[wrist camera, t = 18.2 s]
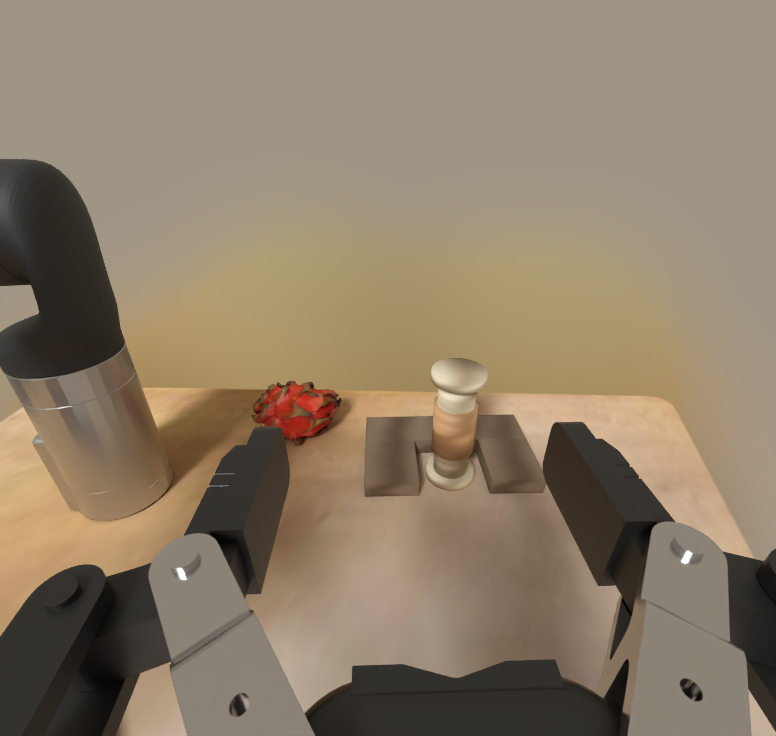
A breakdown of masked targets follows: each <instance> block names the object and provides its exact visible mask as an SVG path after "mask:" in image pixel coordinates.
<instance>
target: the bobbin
mask: <svg viewBox="0 0 776 736" xmlns="http://www.w3.org/2000/svg"><path fill="white" fill-rule="evenodd" d="M431 380H432V382H433V384H434V385H435V386H436V387H438V396H437V397H436V398H435V400H434V411H433V427H432V443H431V447H432V450H433V452H434V454H433V455H431V456H430V457H429V458H428V460H427V463H426V475H427V478H428V479H429V481H430V482H431V483H432V484H434V485H435V486H437V487H439V488H441V489H444V490H449V491H456V490H461V489H464V488H466V487H467V486H469V485H470V484H471V482H472V480H473V476H474V465H473V463H472V462H471V460H470V459H469V456H470V455H471V454H472V452H473V445H474V438H475V430H476V422H477V415H478V407H479V405H478V402H477V400H476V396H477V392H478V391H480V390H482V389H483V388H484V387H485V385H486V381H487V370H486V369H485V367H483V366H482V365H481V364H479V363H477V362H475V361H472V360H468V359H463V358H449V359H444V360H440V361H438V362H436V363H435V364H434V365H433V367H432V373H431Z"/></svg>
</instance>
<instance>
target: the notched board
mask: <svg viewBox="0 0 776 736" xmlns="http://www.w3.org/2000/svg"><path fill="white" fill-rule="evenodd" d="M432 427H433V416H416V417H367V423H366V451H365V478H364V488H365V497H369V496H411V495H419V476H418V468H417V460H416V453H430V452H433V450H432V447H431V443H432ZM473 452H477V455H478V458H479V461H480V464H481V467H482V471H483V474H484V477H485V480H486V483H487V486H488V489H489V492H490V494H496V493H539V492H543V491H544V488H545V484H546V481H545V478H544V474H543V471H542V469H541V467H540V465H539V463H538V461H537V459H536V458H535V456H534V454H533V452H532V450H531V448H530V446H529V444H528V442H527V440H526V438H525V436H524V434H523V432H522V430H521V428H520V426H519V424H518V422H517V421H516V419H515V417H514V415H477V422H476V430H475V438H474V445H473Z"/></svg>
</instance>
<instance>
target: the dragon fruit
mask: <svg viewBox="0 0 776 736" xmlns="http://www.w3.org/2000/svg"><path fill="white" fill-rule="evenodd" d="M309 386H311V387H309ZM268 388H269V389H267V392H266V393H264V394H262V395H261V397H260V398H259V399H258V401H257V402H256V403H255V404H253V406H254V407H253V410H254V412H255V413H256V415H252V418H253V420H254V421H255V422H256V423H265V427H281V428H282V429H283V433H284V438H288V439H290V440H291V441H292V442H294V443H295V445H298V444H300V441H301V439H299V437H302V436H315V435H316V436H318V435H320V434H321V433H323V432H324V431H325V430H326V429H327V428H328V426H325V425H326V424H328V423H329V422H330V420H331V419H332V417H333V415H334V414H335V413H336V411H337V410H338V409H339V406H340V402H341V398H340V399H339V400H336V397H337V396H339V395H338V394H336V393H335V392H334V391H333V390H331V391H330V390H316V389H314V385H313V383H312V382H308V383H303V384H302V385H297V384H296V382H295V381H288V382H287V384H286V385H283V386H282V385H281V384H280V383H277V385H270V386H269V387H268ZM336 403H337V404H336Z"/></svg>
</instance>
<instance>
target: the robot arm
mask: <svg viewBox="0 0 776 736" xmlns="http://www.w3.org/2000/svg"><path fill="white" fill-rule="evenodd" d="M11 285H31V286H32V289H33V291H34V295H35V298H36V301H37V304H38V309H39V314H37V315H34V316H32V317H29V318H27V319H24V320H22V321H20V322H17V323H15V324H13V325H11V326H9V327H7V328H6V329H4V330H3V331H2V332H0V367H1V369H2V371H3V372H4V374H5V375H6V377H7V379H8V381H9V382H10V384H11V386H12V388H13V390H14V391H15V393H16V395H17V397H18V399H19V400H20V402H21V404H22V406H23V407H24V409H25V411H26V413H27V415H28V416H29V418H30V420H31V422H32V423H33V425H34V427H35V429H36V431H37V432H38V435H37V436H36V437H35V438H34V439H33V445H34V447H35V449H36V450H37V452H38V454H39V456H40V457H41V459H42V461H43V463H44V464H45V466H46V468H47V470H48V471H49V473H50V475H51V476H52V478H53V480H54V482H55V483H56V485H57V487H58V489H59V490H60V492H61V494H62V496H63V497H64V499H65V501H66V503H67V504H68V506H69V508H70V510H80V511H81V512H82V513H83V514H84V515H85V516H86V517H88V518H90V519H93V520H98V521H107V520H114V519H120V518H123V517H126V516H129V515H132V514H134V513H136V512H139V511H141V510H142V509H144V508H146V507H148V506H149V505H151V504H152V503H153V502H155V501H156V500H158V499H159V498H160V497H161V496H162V495H163V494H164V493H165V491H166V490H167V489H168V487H169V486H170V484H171V482H172V478H173V471H172V468H171V465H170V462H169V460H168V457H167V454H166V452H165V449H164V446H163V443H162V440H161V438H160V435H159V432H158V429H157V427H156V424H155V421H154V419H153V416H152V413H151V411H150V408H149V405H148V402H147V400H146V397H145V394H144V392H143V389H142V386H141V383H140V381H139V378H138V375H137V373H136V370H135V368H134V365H133V362H132V360H131V357H130V354H129V352H128V349H127V346H126V343H125V340H124V337H123V334H122V331H121V329H120V322H119V315H118V308H117V303H116V300H115V297H114V293H113V290H112V287H111V284H110V281H109V278H108V274H107V271H106V267H105V264H104V261H103V257H102V254H101V250H100V246H99V243H98V239H97V236H96V233H95V230H94V227H93V223H92V221H91V218H90V215H89V213H88V211H87V208H86V206H85V203H84V202H83V200H82V198H81V196H80V194H79V193H78V191H77V189H76V188H75V187H74V185H73V184H72V183H71V181H70V180H69V179H68V178H67V177H66V176H65V175H64V174H63V173H62V172H61V171H59V170H58V169H56V168H55V167H53V166H52V165H50V164H47V163H45V162H42V161H37V160H27V159H0V286H11ZM629 465H630V464H629V463H628V462H627V461H626V459H625V458H624V457H623V456H622V454H621V453H620V452H619V451H618V450H617V449H616V448H614V447H613V446H611V445H610V444H608V443H607V442H606V441H604V440H603V439H596V438H595V437H594V435H593V434H592V433H591V431H590V430H589V429H588V428H587V426H586V425H585V424H584V423H583V422H556V423H554V424H553V426H552V428H551V432H550V436H549V440H548V444H547V448H546V452H545V456H544V460H543V474H544V478H545V481H546V484H547V486H548V488H549V490H550V492H551V494H552V496H553V498H554V500H555V502H556V504H557V506H558V507H559V509H560V511H561V513H562V515H563V517H564V519H565V521H566V523H567V525H568V527H569V529H570V531H571V533H572V535H573V537H574V539H575V541H576V543H577V545H578V547H579V549H580V551H581V553H582V555H583V557H584V559H585V561H586V563H587V565H588V567H589V569H590V571H591V573H592V575H593V577H594V579H595V581H596V583H597V585H598V586H613V585H616V586H617V588H618V590H619V592H620V594H621V595H620V597H619V600H618V602H617V607H616V612H615V616H614V621H613V626H612V631H611V635H610V640H609V645H608V650H607V654H606V659H605V664H604V668H603V672H602V675H601V678H600V681H599V684H598V686H597V689H596V692H593V691H591V690H590V689H588V688H586V687H584V686H582V685H580V684H578V683H576V682H573V681H571V680H568V679H566V678H562V677H561V675H560V672H559V669H558V667H557V664H556V661H555V660H524V661H505V662H502V663H499V664H496V665H494V666H491V667H488V668H485V669H483V670H480V671H477V672H475V673H472V674H469V675H466V676H464V677H460V678H451V677H447V676H444V675H440V674H436V673H433V672H429V671H425V670H422V669H418V668H414V667H411V666H407V665H403V664H397V665H366V666H353V667H352V682H351V683H348V684H346V685H343V686H341V687H339V688H337V689H335V690H333V691H331V692H330V693H328V694H327V695H325V696H324V697H323V698H321V699H320V700H318V701H317V702H316V703H315V704H314V705H313V706H312V707H311V708H309V709H308V710H307V711H306V712H305V714H304V712H303V710H302V708H301V706H300V704H299V702H298V700H297V698H296V696H295V694H294V692H293V689H292V687H291V685H290V683H289V681H288V679H287V677H286V675H285V673H284V671H283V669H282V667H281V665H280V663H279V661H278V659H277V657H276V655H275V653H274V651H273V649H272V647H271V645H270V643H269V641H268V638H267V636H266V634H265V632H264V630H263V628H262V626H261V624H260V622H259V620H258V618H257V616H256V615H255V613H254V611H253V610H250V608H249V606H248V604H247V602H246V600H245V598H246V595H247V594H261V590H262V587H263V583H264V579H265V575H266V571H267V567H268V564H269V560H270V556H271V552H272V548H273V544H274V540H275V537H276V533H277V529H278V525H279V521H280V517H281V514H282V510H283V506H284V502H285V498H286V494H287V491H288V486H289V478H290V469H289V462H288V456H287V450H286V444H285V438H284V433H283V429H282V428H281V427H258V428H254V430H253V432H252V434H251V436H250V438H249V441H248V443H247V445H238V446H235V447H234V448H233V449H232V450H231V451H230V452H228V453H227V454H226V455H225V456H224V457H223V458H222V460H221V462H220V464H219V466H218V468H217V470H216V472H215V475H214V476H213V478H212V480H211V482H210V484H209V488H207V490H206V492H205V494H204V496H203V498H202V500H201V502H200V504H199V506H198V508H197V510H196V512H195V514H194V516H193V518H192V520H191V522H190V524H189V526H188V528H187V530H186V532H185V534H184V536H183V537H180V538H178V539H176V540H174V541H173V542H171V543H170V544H168V545H167V546H165V547H164V548H163V549H162V550H161V551H160V552H159V553H158V554H157V556H156V557H155V558H154V560H153V562H152V563H149V564H147V565H144V566H141V567H138V568H134V569H131V570H128V571H125V572H121V573H118V574H115V575H111V576H108V577H106V576H105V574H104V572H103V571H102V569H100V568H99V567H97V566H95V565H78V566H74V567H71V568H68V569H66V570H63V571H61V572H59V573H57V574H56V575H54V576H52V577H51V578H49V579H48V580H46V581H45V582H44V583H42V584H41V585H40V586H39V587H38V588H37V589H36V590H35V591H34V592H33V593H32V594H31V595H30V596H29V597H28V599H27V600H26V601H25V603H24V604H23V606H22V607H21V608H20V610H19V611H18V613H17V614H16V615H15V617H14V618H13V620H12V621H11V622H10V624H9V625H8V627H7V628H6V629H5V631H4V632H3V634H2V635H1V636H0V736H115V735H116V733H117V730H118V728H119V725H120V723H121V720H122V718H123V715H124V713H125V710H126V708H127V705H128V703H129V700H130V698H131V695H132V693H133V690H134V688H135V685H136V683H137V680H138V678H139V675H140V673H142V672H144V671H147V670H150V669H152V668H155V667H158V666H160V665H163V664H166V663H168V662H171V661H172V664H170V672H171V677H172V681H173V685H174V689H175V692H176V696H177V700H178V703H179V707H180V711H181V714H182V718H183V722H184V725H185V729H186V733H187V736H751V723H750V707H749V691H748V689H749V690H750V692H751V694H752V695H753V697H754V698H755V700H756V701H757V703H758V705H759V706H760V708H761V709H762V711H763V712H764V714H765V716H766V717H767V719H768V720H769V722H770V723H771V725H772V727H773V728H774V730H775V731H776V549H774V550H773V551H771V553H770V554H769V556H768V557H767V558H766V560H765V561H760V560H756V559H752V558H748V557H743V556H739V555H735V554H731V553H727V552H723V551H722V550H721V549H720V548H719V547H718V545H717V544H716V543H715V542H714V541H712V540H711V539H710V538H709V537H708V536H706V535H705V534H703V533H702V532H700V531H698V530H696V529H694V528H692V527H690V526H687V525H685V524H681V523H677V522H675V521H674V520H673V518H672V517H671V516H670V515H669V513H668V512H667V511H666V510H665V508H664V507H663V506H662V504H661V503H660V502H659V501H658V499H657V498H656V497H655V496H654V494H653V493H652V492H651V491H650V489H649V488H648V487H647V486H646V484H645V483H644V482H643V481H642V479H639V476H638V474H637V473H636V472H635V471H634V469H633V468H632V467H630V466H629Z"/></svg>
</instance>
